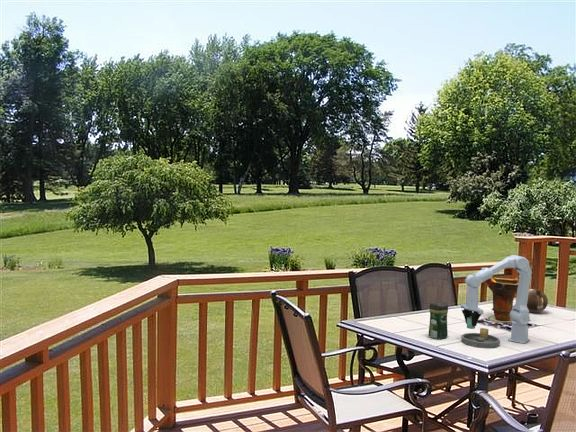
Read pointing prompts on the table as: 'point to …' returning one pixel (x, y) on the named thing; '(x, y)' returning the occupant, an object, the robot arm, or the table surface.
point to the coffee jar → (438, 320)
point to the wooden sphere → (536, 301)
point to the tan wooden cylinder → (484, 333)
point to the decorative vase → (502, 297)
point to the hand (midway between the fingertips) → (471, 325)
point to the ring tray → (480, 340)
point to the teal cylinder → (470, 323)
